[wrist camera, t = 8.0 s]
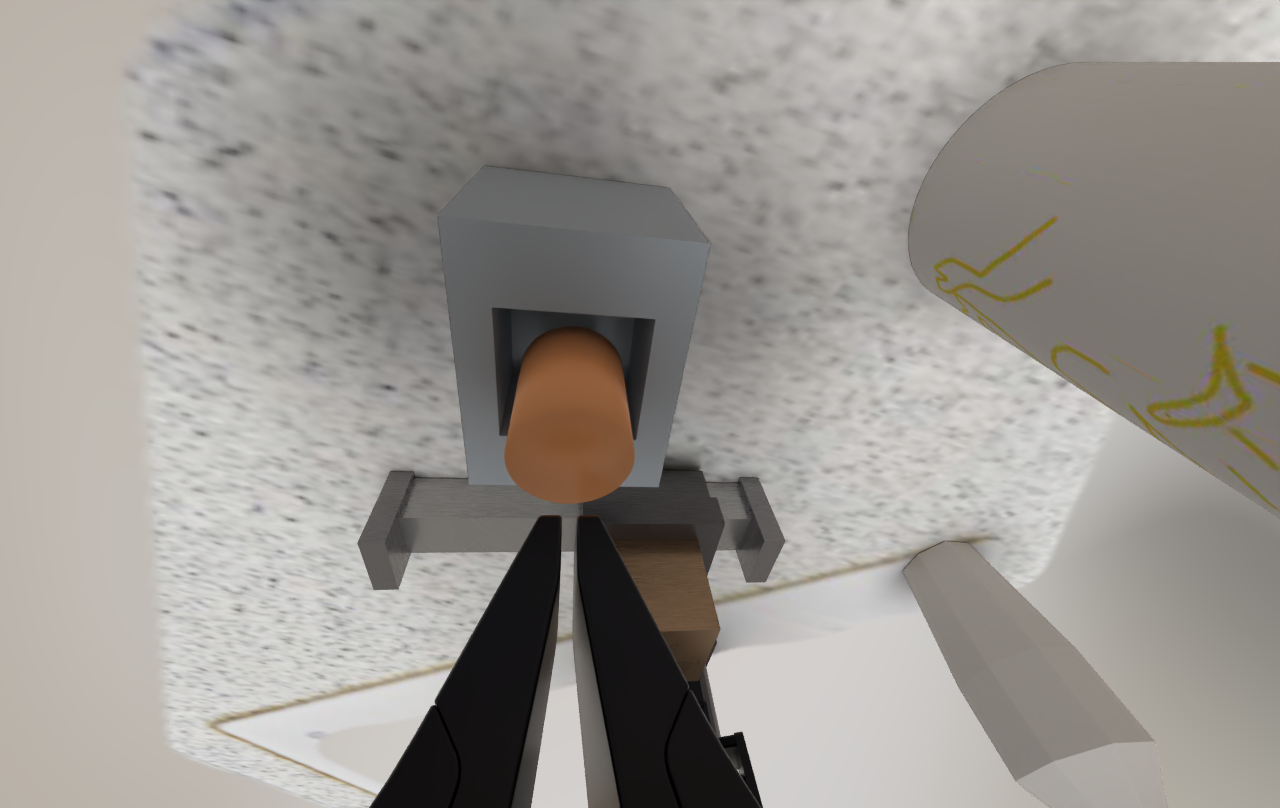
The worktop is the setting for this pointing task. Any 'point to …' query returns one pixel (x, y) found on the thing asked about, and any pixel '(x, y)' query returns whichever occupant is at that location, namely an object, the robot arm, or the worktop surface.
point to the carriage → (670, 557)
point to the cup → (1128, 246)
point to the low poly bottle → (1033, 688)
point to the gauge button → (570, 419)
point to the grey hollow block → (568, 297)
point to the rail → (527, 523)
